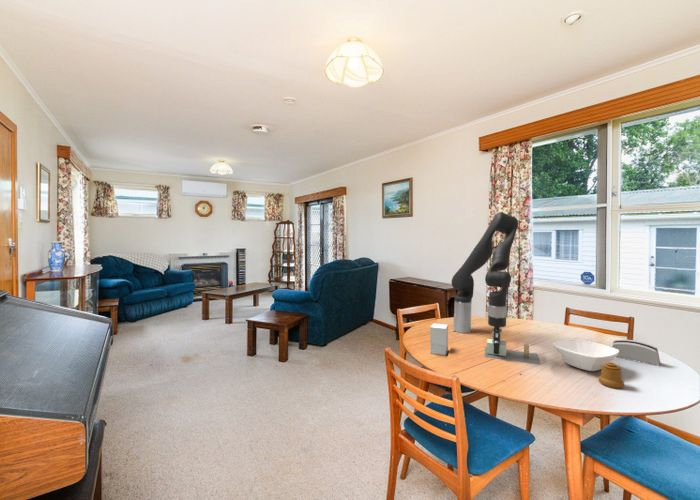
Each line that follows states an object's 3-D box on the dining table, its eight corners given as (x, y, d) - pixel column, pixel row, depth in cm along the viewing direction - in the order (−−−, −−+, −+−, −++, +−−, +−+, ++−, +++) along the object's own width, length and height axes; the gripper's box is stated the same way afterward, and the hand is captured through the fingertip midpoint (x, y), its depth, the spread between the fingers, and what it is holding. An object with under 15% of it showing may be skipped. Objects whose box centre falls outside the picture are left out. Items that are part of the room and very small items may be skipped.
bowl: (598, 381, 128) (599, 359, 127) (545, 363, 146) (545, 343, 146) (626, 371, 137) (627, 350, 137) (573, 354, 156) (573, 336, 155)
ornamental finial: (596, 384, 125) (601, 378, 130) (621, 391, 120) (625, 385, 125) (596, 363, 125) (602, 358, 130) (622, 369, 119) (626, 364, 124)
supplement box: (448, 350, 162) (448, 324, 161) (445, 355, 155) (446, 328, 154) (432, 348, 165) (433, 322, 164) (429, 353, 158) (429, 326, 157)
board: (484, 360, 149) (484, 343, 149) (485, 350, 162) (485, 334, 161) (541, 368, 140) (541, 350, 140) (537, 356, 153) (537, 340, 153)
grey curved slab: (660, 362, 146) (661, 343, 143) (659, 369, 143) (660, 349, 140) (612, 353, 158) (611, 334, 155) (610, 358, 155) (609, 340, 152)
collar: (486, 353, 152) (486, 342, 152) (487, 349, 158) (487, 338, 158) (506, 356, 149) (506, 345, 149) (505, 351, 155) (506, 341, 154)
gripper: (488, 310, 161) (487, 345, 161) (487, 317, 147) (487, 355, 148) (505, 312, 158) (505, 347, 158) (506, 319, 144) (505, 358, 145)
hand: (496, 351), depth 153 cm, fingers closed on collar, 6 cm apart
